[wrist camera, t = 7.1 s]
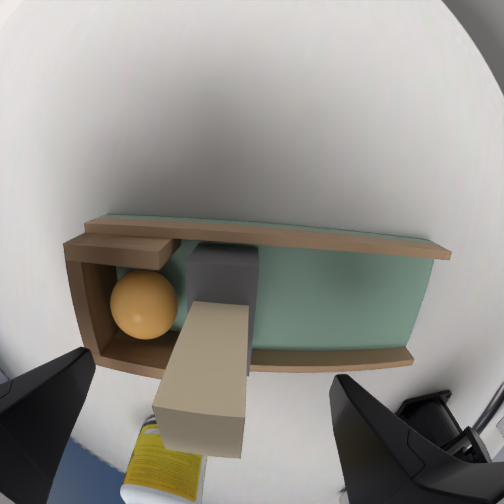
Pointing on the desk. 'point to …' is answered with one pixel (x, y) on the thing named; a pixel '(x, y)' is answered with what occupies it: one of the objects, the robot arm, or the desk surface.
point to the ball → (144, 304)
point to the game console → (501, 426)
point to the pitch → (307, 288)
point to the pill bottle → (162, 472)
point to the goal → (99, 295)
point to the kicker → (211, 354)
